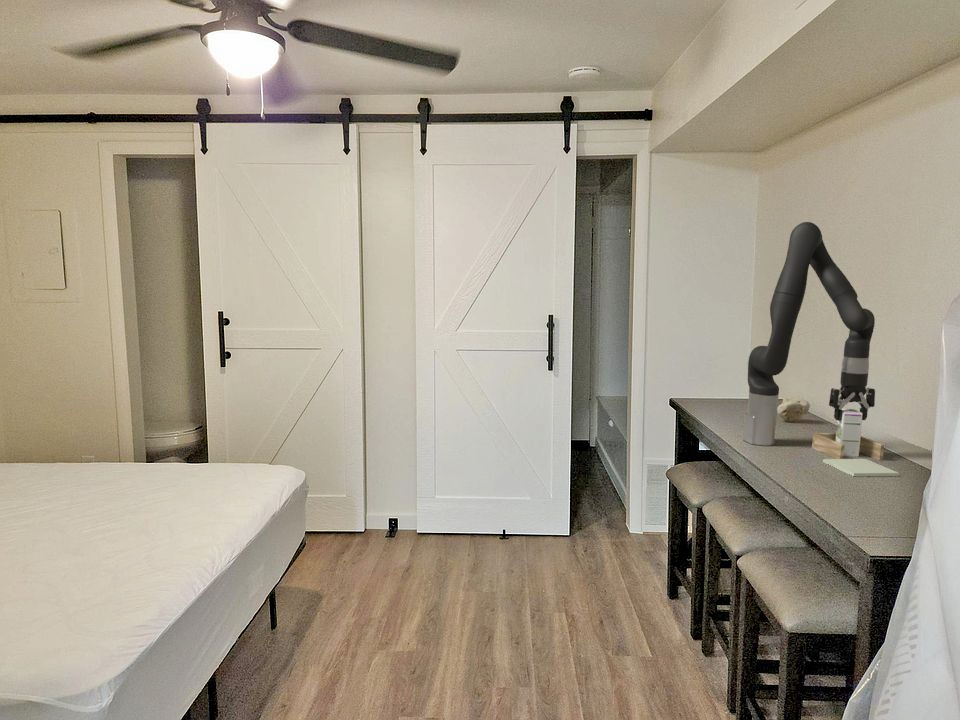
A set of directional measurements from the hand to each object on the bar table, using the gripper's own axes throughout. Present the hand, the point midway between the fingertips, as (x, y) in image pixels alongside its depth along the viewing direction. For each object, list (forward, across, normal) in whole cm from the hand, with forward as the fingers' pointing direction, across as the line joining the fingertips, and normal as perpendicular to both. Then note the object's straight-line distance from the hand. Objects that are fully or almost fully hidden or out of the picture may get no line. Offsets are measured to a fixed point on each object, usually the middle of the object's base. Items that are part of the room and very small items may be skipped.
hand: (850, 420), depth 208 cm
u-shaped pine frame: (+11, -1, 0) cm, 11 cm away
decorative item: (+12, +8, +43) cm, 46 cm away
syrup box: (+11, -1, 0) cm, 11 cm away
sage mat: (+11, -8, -16) cm, 21 cm away
